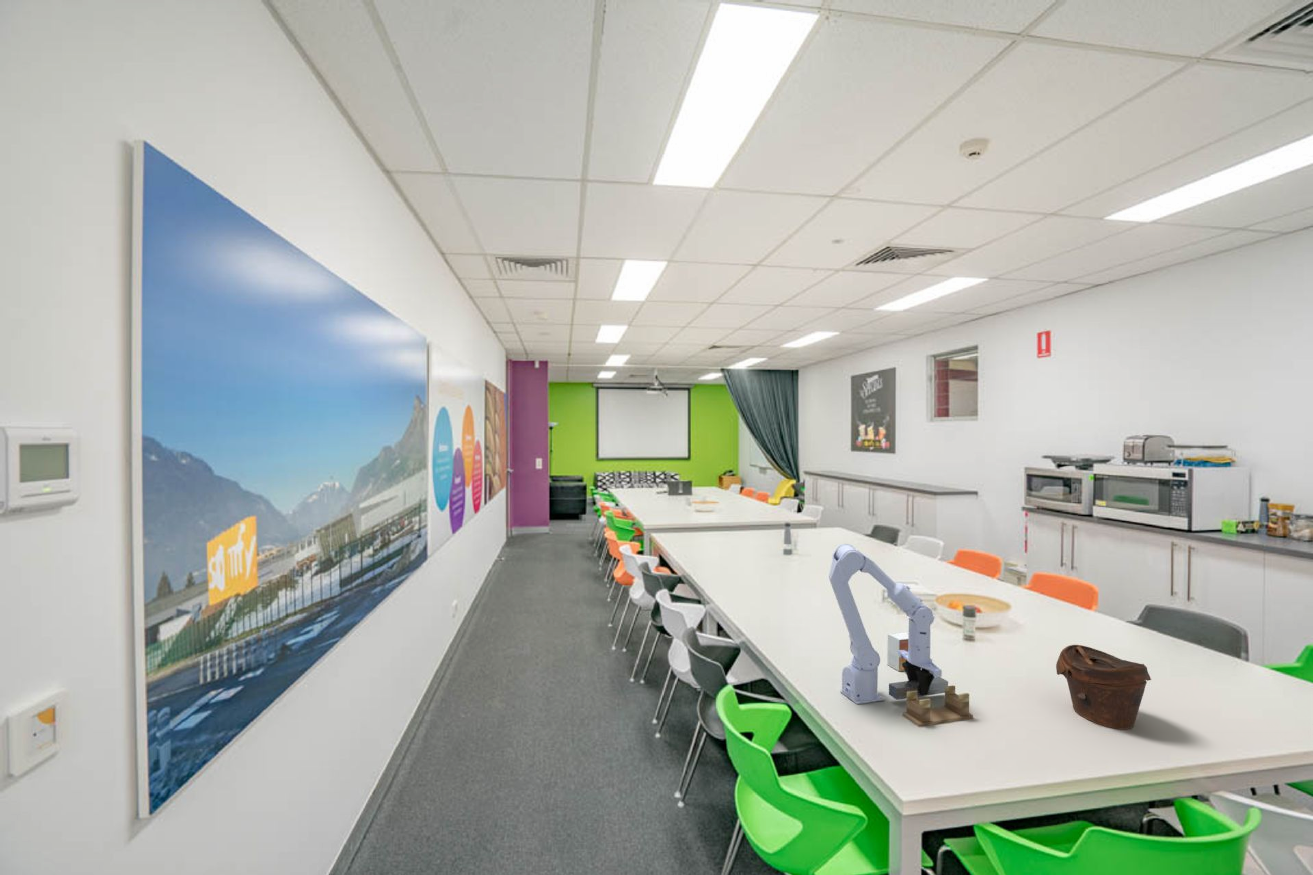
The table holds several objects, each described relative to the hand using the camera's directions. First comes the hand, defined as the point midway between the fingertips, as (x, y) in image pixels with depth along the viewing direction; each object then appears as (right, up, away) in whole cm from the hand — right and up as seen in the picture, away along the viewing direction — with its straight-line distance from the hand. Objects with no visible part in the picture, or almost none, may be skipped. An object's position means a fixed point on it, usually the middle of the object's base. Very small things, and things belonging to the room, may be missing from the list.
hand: (918, 691), depth 151 cm
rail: (0, -1, 0) cm, 1 cm away
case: (+47, -4, -7) cm, 48 cm away
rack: (+1, -2, -9) cm, 10 cm away
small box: (+6, -3, +23) cm, 23 cm away
